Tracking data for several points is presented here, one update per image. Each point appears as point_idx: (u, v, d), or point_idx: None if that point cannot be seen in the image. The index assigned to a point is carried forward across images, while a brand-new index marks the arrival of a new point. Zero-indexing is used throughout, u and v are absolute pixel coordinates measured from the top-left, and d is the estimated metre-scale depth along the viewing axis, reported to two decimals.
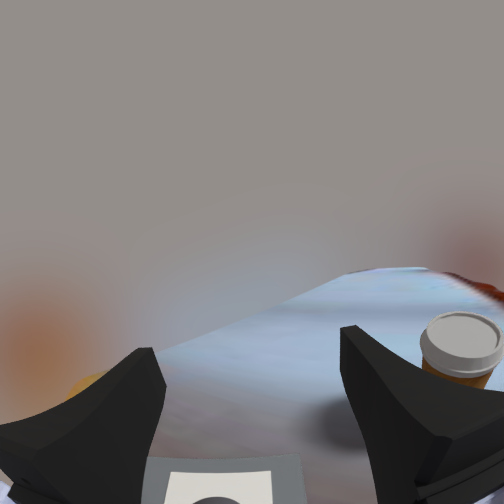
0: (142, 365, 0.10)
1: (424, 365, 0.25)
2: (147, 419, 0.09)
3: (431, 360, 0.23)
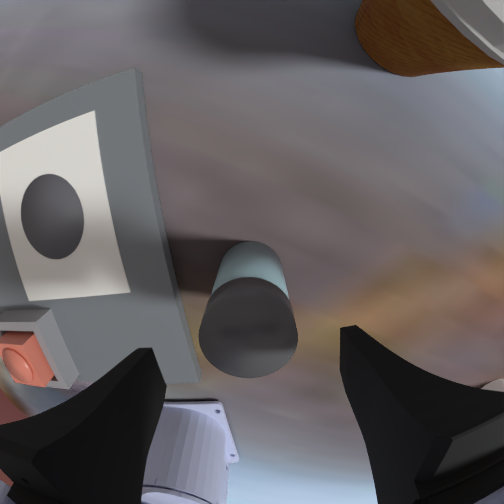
0: (142, 365, 0.10)
1: None
2: (147, 419, 0.09)
3: None
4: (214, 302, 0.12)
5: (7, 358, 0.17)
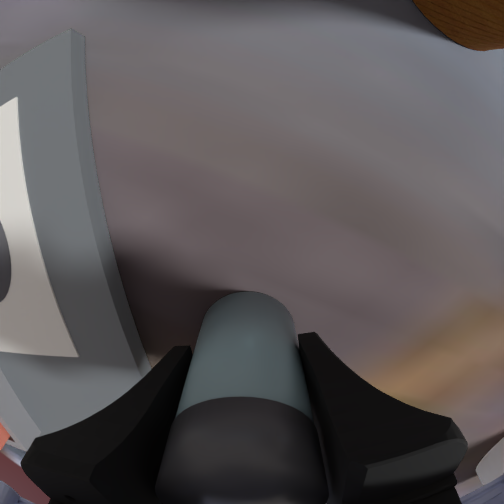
0: (183, 364, 0.10)
1: None
2: None
3: None
4: (176, 454, 0.05)
5: None
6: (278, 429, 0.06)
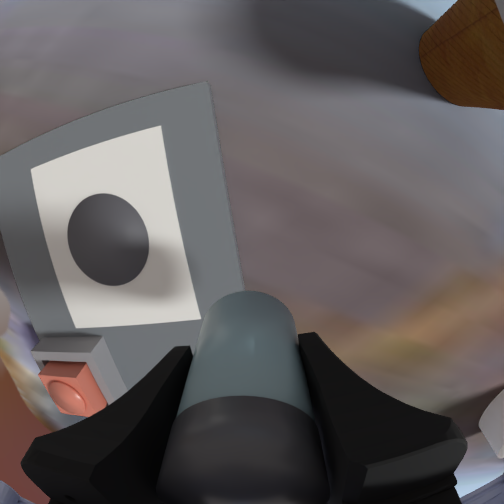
0: (183, 363, 0.10)
1: (484, 7, 0.07)
2: None
3: None
4: (177, 453, 0.05)
5: (55, 390, 0.17)
6: (279, 428, 0.06)
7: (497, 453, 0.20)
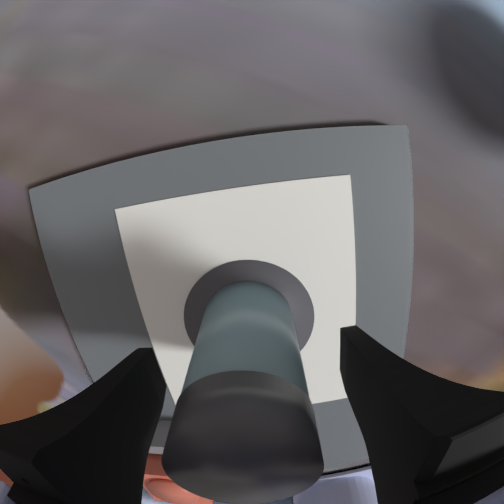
0: (142, 365, 0.10)
1: None
2: (147, 419, 0.09)
3: None
4: (182, 423, 0.06)
5: (158, 487, 0.13)
6: (276, 399, 0.07)
7: None
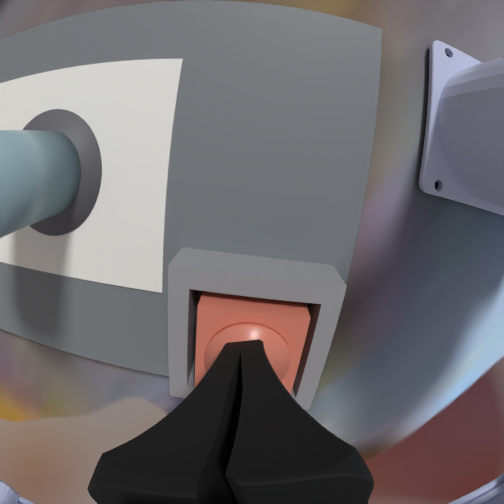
0: (241, 360, 0.10)
1: None
2: None
3: None
4: None
5: None
6: None
7: None
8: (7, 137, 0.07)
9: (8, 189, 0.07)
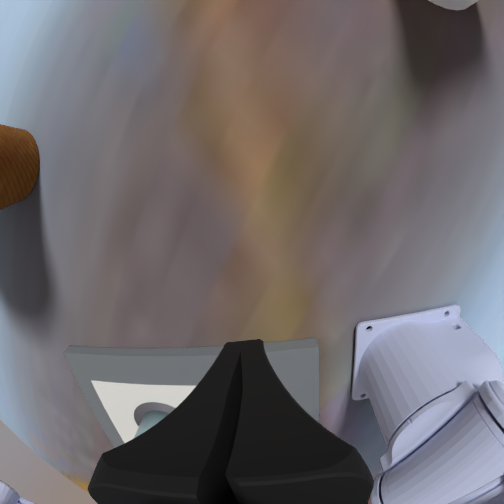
0: (241, 359, 0.10)
1: None
2: None
3: None
4: None
5: None
6: None
7: None
8: None
9: None
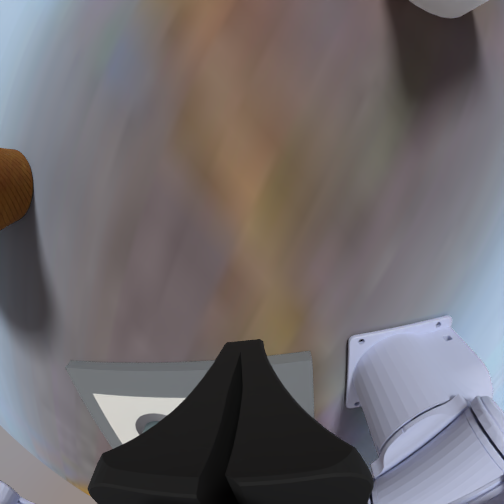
0: (241, 359, 0.10)
1: None
2: None
3: None
4: None
5: None
6: None
7: None
8: None
9: None
